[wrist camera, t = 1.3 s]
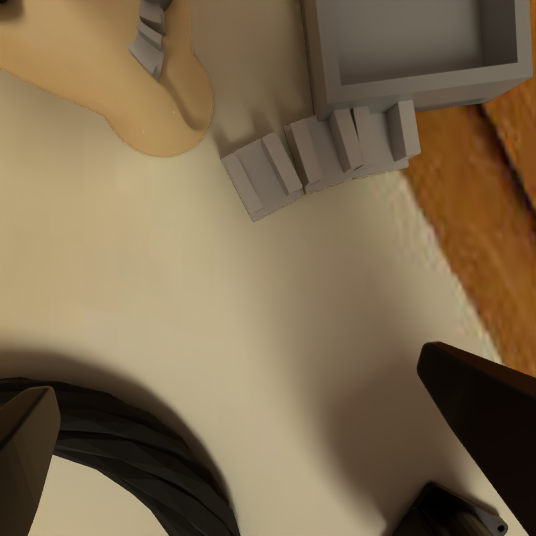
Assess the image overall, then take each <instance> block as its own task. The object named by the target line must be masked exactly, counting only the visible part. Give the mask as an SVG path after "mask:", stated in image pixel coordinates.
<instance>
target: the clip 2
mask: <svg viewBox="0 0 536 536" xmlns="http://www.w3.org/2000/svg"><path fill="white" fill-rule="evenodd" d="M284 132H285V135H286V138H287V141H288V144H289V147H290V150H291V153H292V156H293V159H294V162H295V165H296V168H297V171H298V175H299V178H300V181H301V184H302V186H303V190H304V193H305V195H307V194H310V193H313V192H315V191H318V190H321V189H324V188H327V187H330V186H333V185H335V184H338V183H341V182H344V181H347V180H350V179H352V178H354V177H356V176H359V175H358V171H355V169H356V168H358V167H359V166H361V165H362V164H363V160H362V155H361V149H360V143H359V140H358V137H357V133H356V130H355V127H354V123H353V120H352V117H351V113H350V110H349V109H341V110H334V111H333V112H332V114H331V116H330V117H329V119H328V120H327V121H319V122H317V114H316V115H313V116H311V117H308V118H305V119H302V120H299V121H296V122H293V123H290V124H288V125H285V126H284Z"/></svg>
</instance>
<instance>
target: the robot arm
mask: <svg viewBox="0 0 536 536" xmlns="http://www.w3.org/2000/svg"><path fill="white" fill-rule="evenodd" d="M417 373H418V376H419V378H420V379H421V381H422V383H423V384H424V386H425V388H426V389H427V391H428V392H429V394H430V396H431V397H432V399H433V401H434V402H435V404H436V405H437V407H438V409H439V410H440V412H441V414H442V415H443V417H444V419H445V420H446V422H447V423H448V425H449V426H450V428H451V429H452V431H453V432H454V434H455V435H456V436H457V438H458V439H459V441H460V442H461V443H462V445H463V446H464V447H465V449H466V450H467V451H468V453H469V454H470V456H471V457H472V458H473V460H474V461H475V462H476V464H477V465H478V467H479V468H480V469H481V471H482V472H483V473H484V475H485V476H486V478H487V479H488V480H489V482H490V483H491V484H492V486H493V487H494V488H495V490H496V491H497V493H498V494H499V495H500V497H501V498H502V499H503V501H504V502H505V504H506V505H507V506H508V508H509V509H510V510H511V512H512V513H513V514H514V516H515V517H516V519H517V520H518V521H519V523H520V524H521V525H522V527H523V528H524V530H525V531H526V532H527V534H528V535H529V536H536V378H535V377H532V376H529V375H527V374H524V373H521V372H519V371H516V370H514V369H511V368H508V367H506V366H503V365H500V364H498V363H495V362H493V361H490V360H487V359H485V358H482V357H479V356H477V355H474V354H472V353H469V352H466V351H464V350H461V349H458V348H456V347H453V346H451V345H448V344H445V343H443V342H439V341H436V342H427V343H425V344H424V345H423V347H422V349H421V353H420V356H419V360H418V363H417ZM60 421H61V418H60V412H59V408H58V404H57V400H56V396H55V392H54V390H53V388H52V387H50V386H43V387H34V388H28V389H26V390H24V391H23V392H21V393H20V394H19V395H17V396H16V397H15V398H13V399H12V400H10V401H9V402H8V403H6V404H5V405H3V406H2V407H1V408H0V536H28V533H29V531H30V528H31V525H32V523H33V520H34V517H35V514H36V511H37V508H38V505H39V502H40V498H41V495H42V491H43V487H44V484H45V480H46V476H47V473H48V469H49V465H50V462H51V458H52V454H53V451H54V447H55V443H56V440H57V436H58V432H59V428H60ZM434 490H435V491H434ZM433 491H434V492H433ZM507 530H508V525H507V524H506V523H505V521H504V520H503V519H502V518H501V517H499V516H497V515H495V514H493V513H491V512H490V511H488V510H486V509H484V508H482V507H480V506H479V505H477V504H475V503H473V502H471V501H469V500H467V499H466V498H464V497H462V496H460V495H458V494H456V493H455V492H453V491H451V490H449V489H447V488H445V487H443V486H442V485H440V484H438V483H436V482H430V483H428V484H427V485H426V486H425V488H424V489H423V491H422V492H421V494H420V495H419V497H418V498H417V500H416V501H415V503H414V504H413V506H412V507H411V509H410V510H409V512H408V513H407V515H406V516H405V518H404V519H403V521H402V522H401V524H400V525H399V527H398V528H397V530H396V531H395V533H394V534H393V536H504V535H505V534H506V532H507Z"/></svg>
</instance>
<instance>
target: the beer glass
mask: <svg viewBox="0 0 536 536" xmlns="http://www.w3.org/2000/svg"><path fill="white" fill-rule="evenodd" d="M0 69H1V70H3V71H5V72H7V73H9V74H11V75H13V76H15V77H17V78H19V79H21V80H23V81H25V82H27V83H29V84H31V85H33V86H35V87H37V88H39V89H41V90H43V91H46V92H48V93H50V94H53V95H55V96H57V97H60V98H62V99H64V100H67V101H69V102H71V103H74V104H76V105H79V106H81V107H84V108H86V109H89V110H91V111H93V112H96V113H98V114H100V115H102V116H103V117H104V118H105V119H106V121H107V122H108V124H109V125H110V127H111V128H112V130H113V131H114V132H115V133H116V135H117V136H118V137H119V138H120V139H121V140H122V141H123V142H124V143H126V144H127V145H128V146H130V147H131V148H133V149H134V150H136V151H138V152H140V153H143V154H146V155H149V156H155V157H170V156H175V155H178V154H181V153H184V152H186V151H187V150H189V149H191V148H192V147H193V146H195V145H196V144H197V143H198V142H199V141H200V140H201V139H202V137H203V136H204V135H205V133H206V131H207V129H208V127H209V125H210V122H211V119H212V115H213V108H214V99H213V92H212V87H211V84H210V81H209V79H208V76H207V74H206V72H205V71H204V69H203V67H202V66H201V64H200V63H199V61H198V60H197V59H196V57H195V56H194V54H193V52H192V42H191V14H190V0H0Z"/></svg>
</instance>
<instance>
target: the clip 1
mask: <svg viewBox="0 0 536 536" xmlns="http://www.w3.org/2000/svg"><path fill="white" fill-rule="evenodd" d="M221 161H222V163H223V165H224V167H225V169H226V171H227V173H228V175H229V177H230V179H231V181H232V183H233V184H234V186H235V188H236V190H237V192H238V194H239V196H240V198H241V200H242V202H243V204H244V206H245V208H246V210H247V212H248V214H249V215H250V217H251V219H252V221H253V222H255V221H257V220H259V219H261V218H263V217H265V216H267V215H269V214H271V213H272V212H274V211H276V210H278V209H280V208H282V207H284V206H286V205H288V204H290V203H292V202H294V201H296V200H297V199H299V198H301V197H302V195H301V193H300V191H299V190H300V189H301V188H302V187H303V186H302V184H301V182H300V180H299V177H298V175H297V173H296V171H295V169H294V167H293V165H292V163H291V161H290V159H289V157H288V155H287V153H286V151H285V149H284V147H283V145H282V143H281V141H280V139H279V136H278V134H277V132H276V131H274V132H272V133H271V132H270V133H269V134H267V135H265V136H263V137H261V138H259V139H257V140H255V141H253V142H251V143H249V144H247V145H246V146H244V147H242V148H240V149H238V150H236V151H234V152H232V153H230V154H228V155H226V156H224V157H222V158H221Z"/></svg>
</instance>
